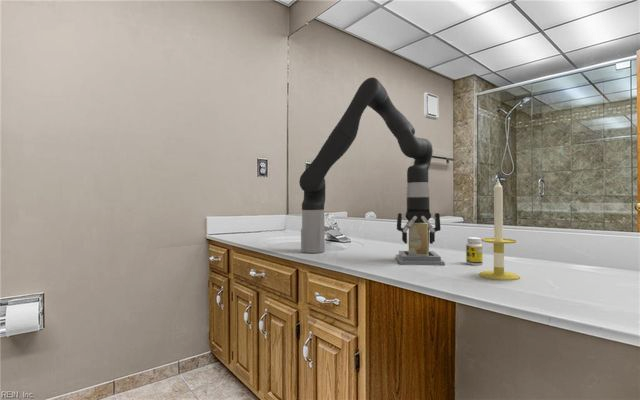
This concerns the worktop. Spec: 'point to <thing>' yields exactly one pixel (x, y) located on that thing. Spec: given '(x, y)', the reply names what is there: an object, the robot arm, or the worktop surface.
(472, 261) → the supplement bottle
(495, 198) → the candle
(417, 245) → the skincare box
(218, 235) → the worktop surface
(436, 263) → the gray square tray
